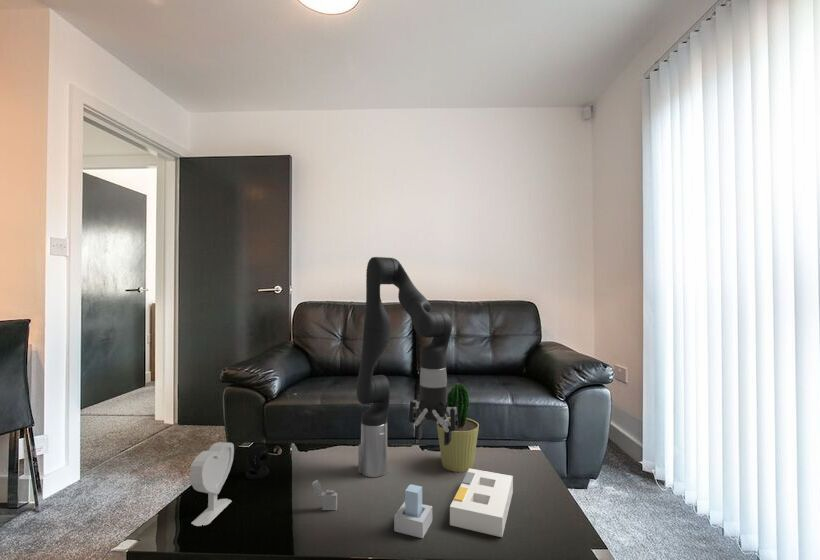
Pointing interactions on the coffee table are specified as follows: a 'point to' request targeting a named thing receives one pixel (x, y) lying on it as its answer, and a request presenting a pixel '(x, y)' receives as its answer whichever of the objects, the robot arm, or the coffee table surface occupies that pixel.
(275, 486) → the coffee table surface
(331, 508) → the lighter
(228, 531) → the coffee table surface
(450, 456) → the potted cactus
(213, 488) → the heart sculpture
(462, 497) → the port panel
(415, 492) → the plug
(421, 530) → the holster
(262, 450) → the webcam
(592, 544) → the coffee table surface
